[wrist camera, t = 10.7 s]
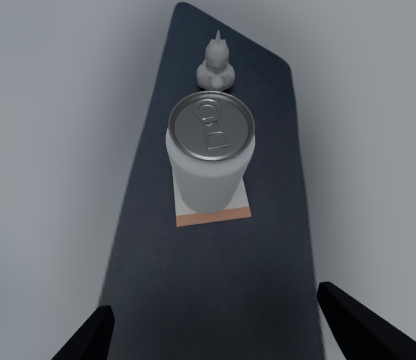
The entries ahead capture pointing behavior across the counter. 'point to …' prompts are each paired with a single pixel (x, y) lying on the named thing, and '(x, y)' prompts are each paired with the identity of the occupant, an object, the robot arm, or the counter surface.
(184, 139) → the can
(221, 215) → the distance mat
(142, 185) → the counter surface
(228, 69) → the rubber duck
